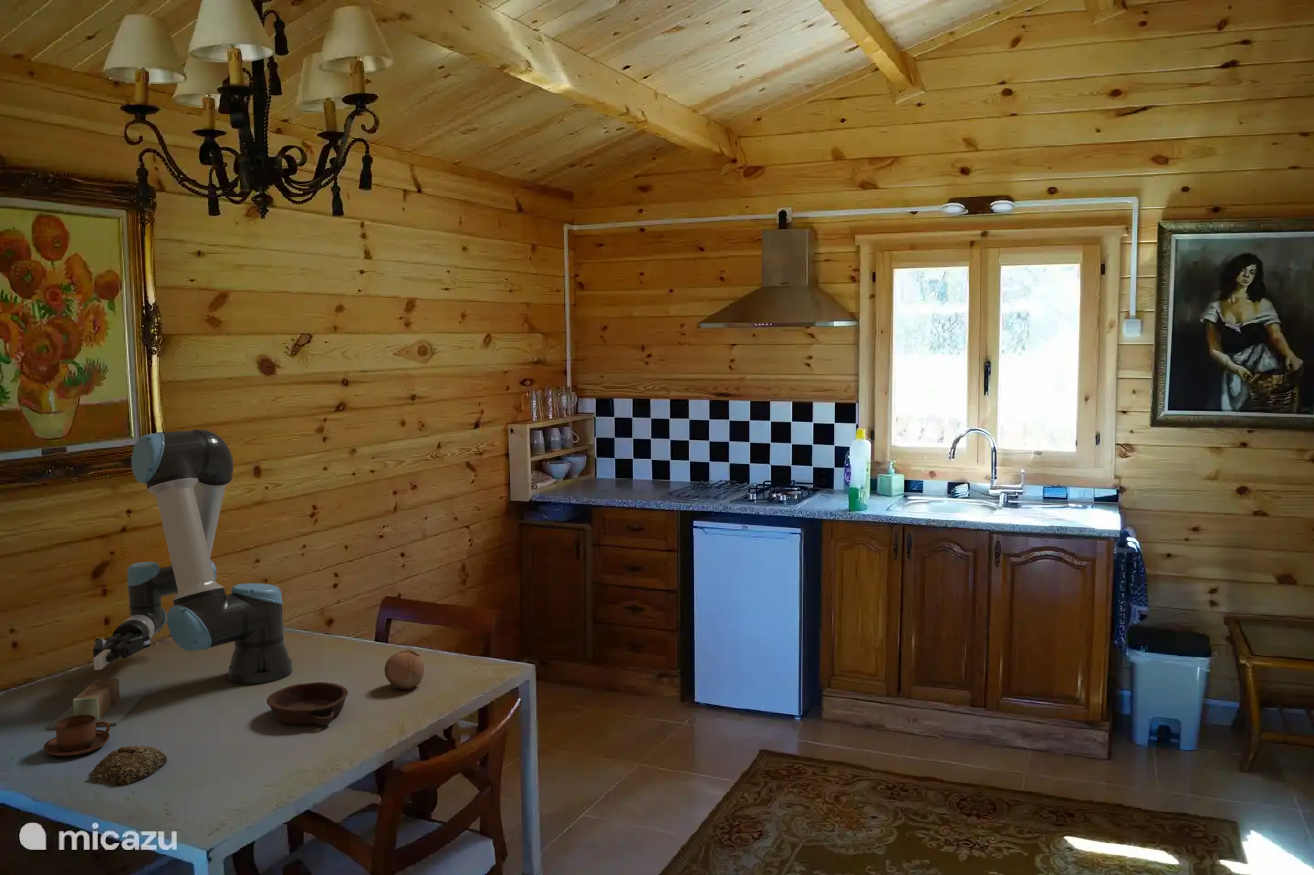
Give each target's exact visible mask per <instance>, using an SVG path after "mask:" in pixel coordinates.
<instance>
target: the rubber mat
mask: <svg viewBox="0 0 1314 875" xmlns="http://www.w3.org/2000/svg"><path fill="white" fill-rule="evenodd" d="M152 689H153V685H143V686H142V685H141V686H122V687H120V686H119V696H120V699H119V700H118V701H117V702H116V703H115V704H114V705H113V706H112V707H111V708H110V709H109V710H108V711H107V712H106V713H105V714H104V715H103V716H102V717H101V718H100V719H99V720H96V722H100V721H105V722H107V723H109V725H110V727H113V726H117V725H118V724H119V723H120V722H121V721H122V720H123V719H124V718H125V717H126V716H127V715H128V714H129V713H130V712H131V711H132V710H133V708H135V707H136V706H137V705H138V703H140V701H141V700H142V699H143V698H145V696H146V695H147V694H148V693H149V692H150V691H151V690H152ZM71 716H74V706H73V704H72V705H71V706H70V707H68V708H67V710H66V711H64V712H63V713H61V715H60V716H59V717H57V718H56V719H55V720H54V721H53V722H52V723H51V724H50V725H49V726H48V727H47V729H48V730H56V726H55V725H56V723H57V722H58V721H60V720H62V719H64V718H67V717H71ZM97 727H106V725H104V724H101V725H98V726H97ZM97 727H96V728H97Z"/></svg>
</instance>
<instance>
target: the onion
mask: <svg viewBox="0 0 1314 875" xmlns="http://www.w3.org/2000/svg"><path fill="white" fill-rule="evenodd" d="M420 656H421V655H420V654H419V653H416V651H415V650H413V649H411V648H407V649H404V650H402V651H400V652H397V653H394V654H392V655H391V656H390V657H389V658H388V659H387V660H386V663H385V665H384V675H385V678H386V680H387V681H388V682H389V684H390V686H392V687H393V688H394V689H397V690H399V691H401V690H409V689H410V690H411V689H412V688H413V689H414V688H417V686H419V685H420V684H421V683H422V682H421V681H422V680H423V677H424V673H425V665H424V664H425V663H424V661H423V660H422V658H421V657H420Z"/></svg>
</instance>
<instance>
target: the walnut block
mask: <svg viewBox="0 0 1314 875" xmlns="http://www.w3.org/2000/svg"><path fill="white" fill-rule="evenodd" d="M119 687H120V683H119V678H110V679H109V678H108V679H95V680H94V681H93V682H91V683H90V684H89V685H88V686H87V687H86V688H85V689H83V690H82V691H81V692H80V693H79V694H78V695H77V696H76V697H75V698H73V699H72V705H73V706H74V716H76V715H93V716H95V718H96V720H99V719H100V718H101V717H102V716H103V715H104V714H105V713H106V712H107V711H108V710H109V709H110V708H111V707H112V706H113V705H114V704H115V703H116V702H117V701H118V700H119V699H120V696H119Z"/></svg>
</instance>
